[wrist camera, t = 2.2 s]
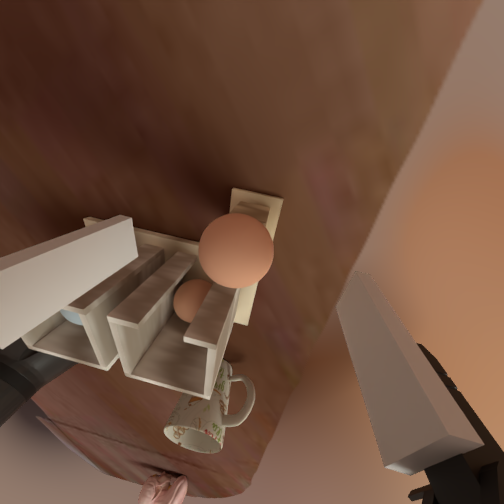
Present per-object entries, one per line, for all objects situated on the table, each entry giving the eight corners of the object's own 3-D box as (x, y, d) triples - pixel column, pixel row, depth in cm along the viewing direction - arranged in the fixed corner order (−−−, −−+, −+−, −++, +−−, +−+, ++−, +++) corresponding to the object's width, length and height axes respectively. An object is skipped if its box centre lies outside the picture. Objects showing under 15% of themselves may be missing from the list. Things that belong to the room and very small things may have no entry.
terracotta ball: (211, 255, 16) (184, 293, 12) (216, 198, 13) (183, 219, 9) (267, 269, 16) (261, 313, 11) (282, 213, 13) (281, 241, 9)
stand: (228, 233, 20) (211, 256, 16) (233, 187, 18) (215, 199, 13) (271, 243, 20) (267, 270, 15) (283, 198, 18) (282, 213, 13)
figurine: (190, 464, 77) (144, 469, 73) (184, 512, 67) (130, 519, 64) (189, 471, 82) (146, 475, 79) (183, 516, 73) (134, 523, 69)
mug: (186, 354, 33) (151, 425, 25) (248, 345, 29) (232, 426, 21) (209, 380, 36) (185, 451, 28) (267, 375, 32) (260, 457, 24)
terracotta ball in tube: (186, 296, 25) (165, 326, 21) (186, 266, 23) (162, 293, 18) (221, 305, 25) (207, 337, 20) (224, 276, 22) (210, 305, 18)
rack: (108, 285, 28) (17, 351, 18) (89, 216, 22) (-53, 261, 13) (248, 321, 27) (228, 412, 17) (263, 257, 21) (246, 339, 12)
